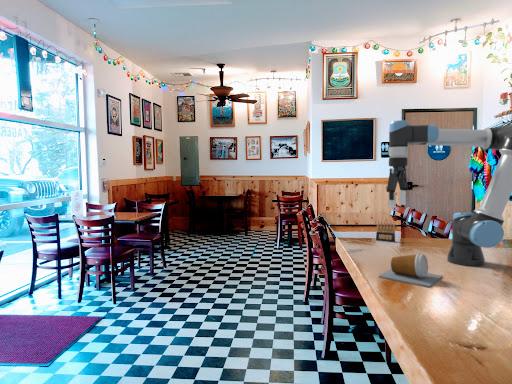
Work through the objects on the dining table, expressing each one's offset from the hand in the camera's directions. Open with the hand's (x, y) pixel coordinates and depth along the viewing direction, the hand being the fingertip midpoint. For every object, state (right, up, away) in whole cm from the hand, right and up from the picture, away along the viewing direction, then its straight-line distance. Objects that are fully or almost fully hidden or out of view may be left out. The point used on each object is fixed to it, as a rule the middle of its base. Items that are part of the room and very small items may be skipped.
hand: (397, 206), depth 161 cm
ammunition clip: (+15, -23, +59) cm, 65 cm away
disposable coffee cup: (-5, -24, -8) cm, 26 cm away
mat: (0, -28, -13) cm, 31 cm away
